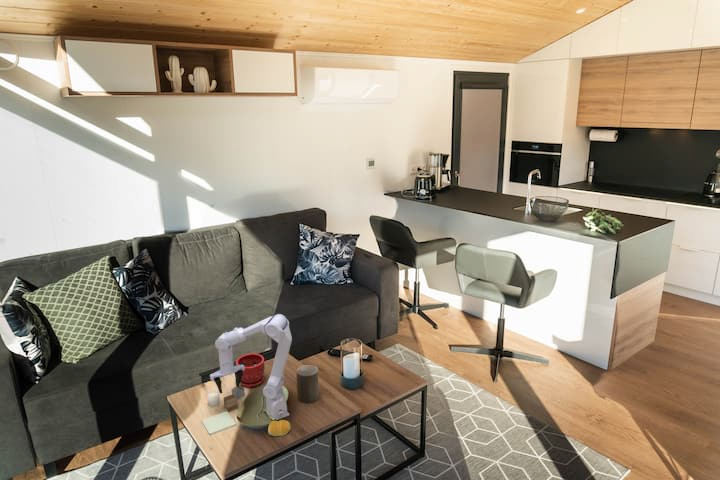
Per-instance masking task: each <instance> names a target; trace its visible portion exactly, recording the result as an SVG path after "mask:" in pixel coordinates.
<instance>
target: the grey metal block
mask: <svg viewBox="0 0 720 480" xmlns="http://www.w3.org/2000/svg"><path fill="white" fill-rule="evenodd" d="M245 391H246V390H245V387H244V386H242V385H239V388H238V387H237V386H236V385H235V387H233V388H231V395H232V394H234V396H235V397H236V398H237V400H240V399H242V398H244V397H245V396H246V392H245Z"/></svg>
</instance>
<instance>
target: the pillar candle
mask: <svg viewBox="0 0 720 480" xmlns="http://www.w3.org/2000/svg"><path fill="white" fill-rule="evenodd" d="M295 373H296V375H295V376H296V396H297V397H296V398H297V401H298V402H300V403H303V404H312V403H314V402H316V401H318V400H319V398H320V397H319V368H318V367H317V366H316V365H312V364H306V365H305V364H304V365H301V366H299V367H297V368H296V371H295Z"/></svg>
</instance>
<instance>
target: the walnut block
mask: <svg viewBox="0 0 720 480" xmlns="http://www.w3.org/2000/svg"><path fill="white" fill-rule="evenodd" d="M238 405H239V404H238V399H237V398H236V397H235V396H234V394H232V393H231V394H230V395H226V396H224V397H223V406H224V407H223V408H224V409H225V410H226V411H227V412H228V413H230V412H232V411H236V410H238V409H239V406H238Z"/></svg>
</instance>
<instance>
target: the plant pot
mask: <svg viewBox="0 0 720 480" xmlns="http://www.w3.org/2000/svg"><path fill="white" fill-rule="evenodd" d="M253 362H256V364H254V363H253ZM242 364H243V365H244V368H245V370H243V371H242V372H243V376H242V378H241V381H240V386H242V387H247V388H252V387H257V386H260V384H262V383H263V382H264V379H265V376H264V374H265V367H266V366H265V358H264V356H263V355H261V354H260V353H247V354H244V355H241V356H239V357H238V358H237V359H236V361H235V366H237V365H242Z"/></svg>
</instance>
